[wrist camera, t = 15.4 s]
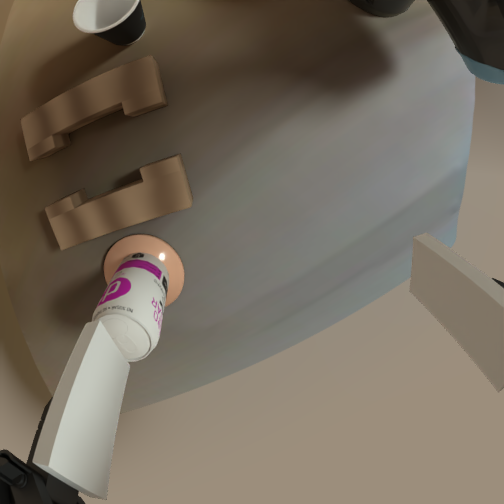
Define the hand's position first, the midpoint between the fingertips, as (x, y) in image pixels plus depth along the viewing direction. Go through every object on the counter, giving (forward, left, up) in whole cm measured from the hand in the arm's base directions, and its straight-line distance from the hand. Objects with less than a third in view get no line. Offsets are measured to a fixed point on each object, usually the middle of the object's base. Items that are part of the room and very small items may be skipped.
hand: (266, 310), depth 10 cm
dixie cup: (+8, -25, -31) cm, 40 cm away
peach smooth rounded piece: (+16, +11, -30) cm, 36 cm away
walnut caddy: (+15, -8, -30) cm, 35 cm away
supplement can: (+15, +10, -30) cm, 35 cm away
